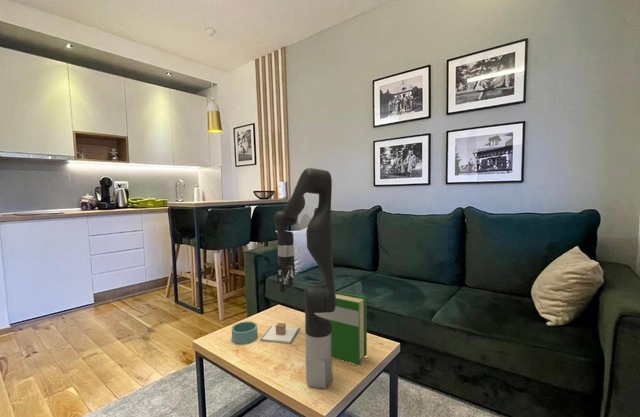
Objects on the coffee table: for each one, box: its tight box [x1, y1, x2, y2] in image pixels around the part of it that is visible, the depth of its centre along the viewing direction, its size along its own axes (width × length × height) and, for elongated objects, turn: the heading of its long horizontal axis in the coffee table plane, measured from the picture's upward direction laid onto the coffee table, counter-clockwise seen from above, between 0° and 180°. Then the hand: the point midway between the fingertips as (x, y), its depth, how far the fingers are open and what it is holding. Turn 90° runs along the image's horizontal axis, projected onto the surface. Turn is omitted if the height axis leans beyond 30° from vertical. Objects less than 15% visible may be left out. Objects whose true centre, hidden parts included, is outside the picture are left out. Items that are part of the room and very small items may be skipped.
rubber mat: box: [259, 325, 302, 345], centre depth 133 cm, size 15×15×1 cm
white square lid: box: [261, 322, 299, 343], centre depth 133 cm, size 13×13×5 cm
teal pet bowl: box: [231, 321, 258, 346], centre depth 130 cm, size 11×11×6 cm
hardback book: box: [319, 290, 368, 366], centre depth 116 cm, size 18×7×24 cm, turn 58°
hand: (286, 289), depth 134 cm, fingers open, 8 cm apart
